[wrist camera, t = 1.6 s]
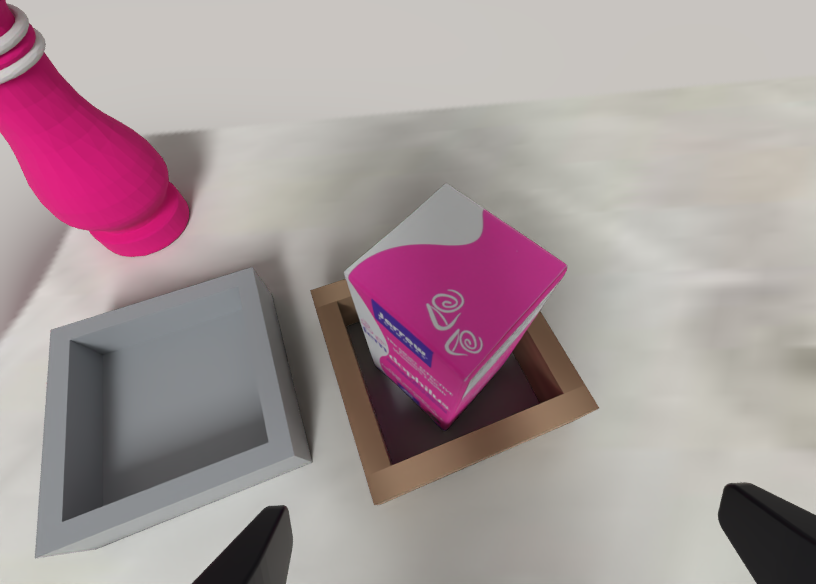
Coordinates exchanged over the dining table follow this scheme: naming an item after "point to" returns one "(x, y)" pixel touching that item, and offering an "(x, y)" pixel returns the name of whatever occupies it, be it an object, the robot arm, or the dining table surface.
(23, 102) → the pepper mill
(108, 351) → the tray
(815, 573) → the robot arm
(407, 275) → the supplement box
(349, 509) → the dining table surface
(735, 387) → the dining table surface
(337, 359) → the holder
